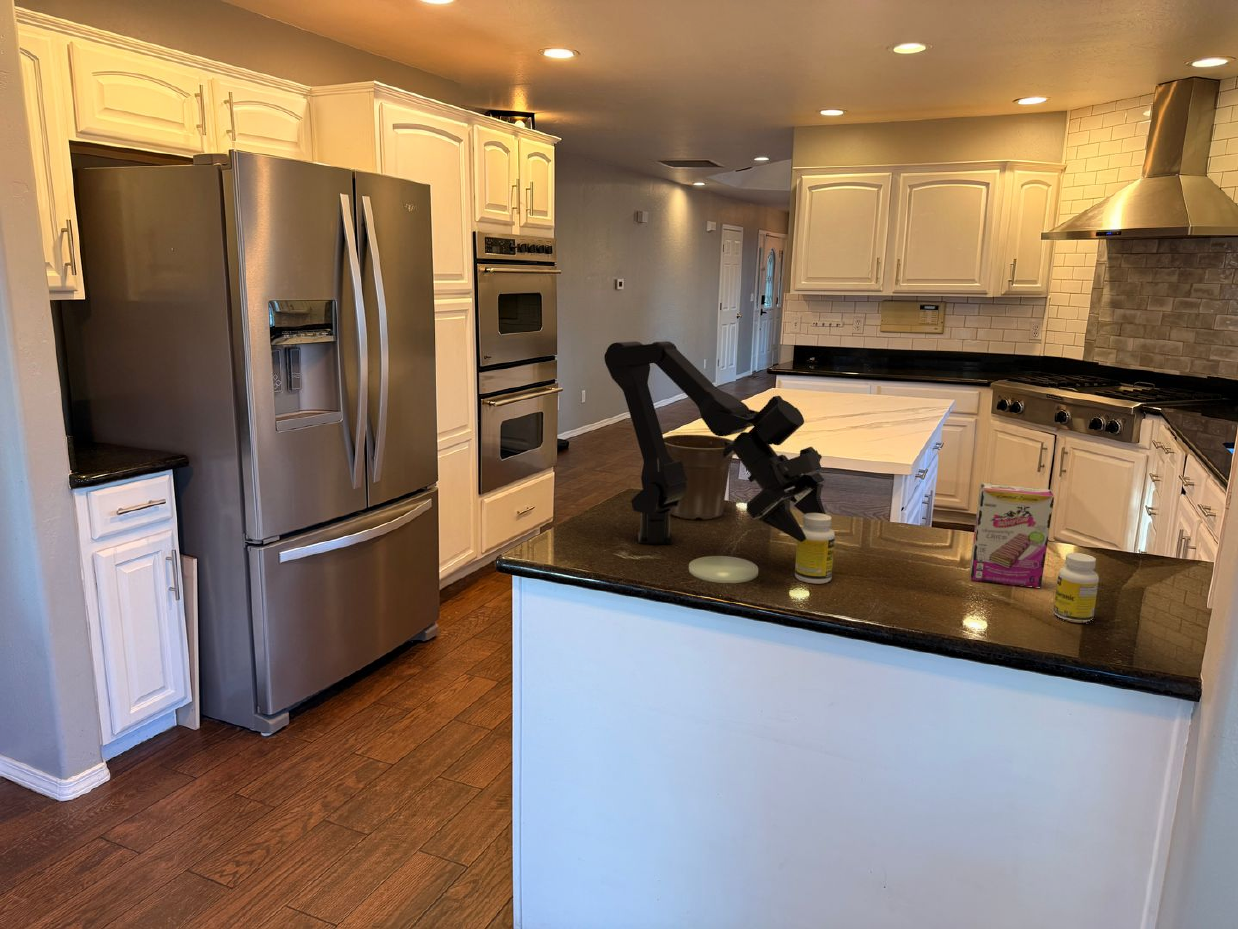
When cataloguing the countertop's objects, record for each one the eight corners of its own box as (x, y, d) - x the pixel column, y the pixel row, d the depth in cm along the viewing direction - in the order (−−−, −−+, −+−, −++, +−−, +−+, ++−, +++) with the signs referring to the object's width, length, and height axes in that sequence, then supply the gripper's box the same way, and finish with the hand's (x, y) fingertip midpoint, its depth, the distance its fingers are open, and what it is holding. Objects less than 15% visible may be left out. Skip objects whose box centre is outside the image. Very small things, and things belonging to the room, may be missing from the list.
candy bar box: (970, 581, 142) (981, 488, 139) (968, 572, 147) (978, 482, 143) (1042, 590, 139) (1055, 495, 135) (1038, 580, 143) (1050, 488, 140)
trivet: (685, 559, 151) (686, 555, 151) (751, 560, 151) (752, 556, 151) (692, 582, 139) (692, 578, 139) (763, 583, 139) (763, 579, 139)
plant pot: (745, 511, 185) (748, 439, 181) (713, 527, 171) (716, 451, 168) (680, 500, 193) (682, 431, 190) (645, 515, 180) (646, 441, 176)
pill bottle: (832, 586, 139) (837, 522, 137) (794, 583, 140) (798, 519, 138) (830, 574, 145) (835, 512, 142) (794, 571, 146) (798, 510, 144)
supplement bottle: (1045, 611, 130) (1053, 551, 128) (1078, 610, 130) (1086, 550, 128) (1066, 625, 124) (1075, 562, 122) (1100, 624, 125) (1110, 562, 123)
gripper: (766, 440, 133) (826, 519, 129) (817, 426, 148) (873, 497, 143) (722, 481, 140) (777, 557, 135) (775, 464, 154) (827, 532, 150)
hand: (816, 534), depth 141 cm, fingers open, 9 cm apart
